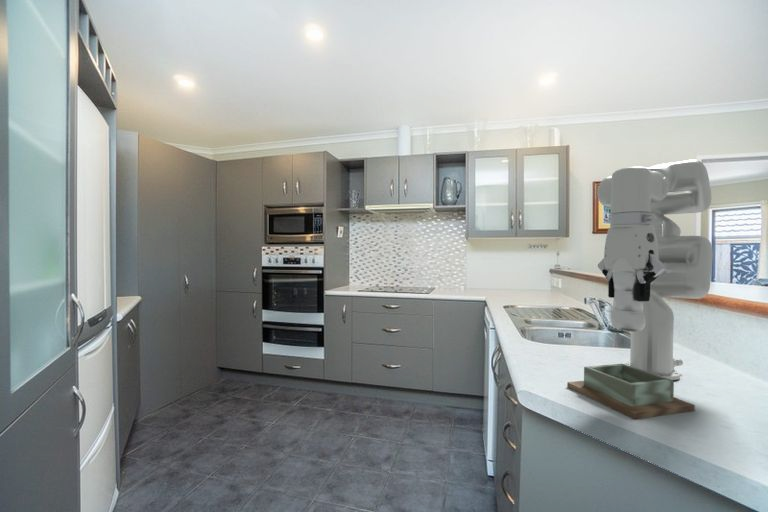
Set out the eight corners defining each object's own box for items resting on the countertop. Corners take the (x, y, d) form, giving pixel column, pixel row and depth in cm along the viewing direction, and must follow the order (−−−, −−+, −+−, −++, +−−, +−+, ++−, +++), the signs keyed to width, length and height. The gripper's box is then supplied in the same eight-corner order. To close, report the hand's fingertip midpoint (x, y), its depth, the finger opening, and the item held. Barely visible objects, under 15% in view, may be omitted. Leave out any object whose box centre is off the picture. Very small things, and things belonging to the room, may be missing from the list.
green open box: (620, 381, 89) (620, 360, 89) (694, 410, 72) (695, 384, 72) (567, 387, 84) (567, 364, 84) (634, 419, 68) (634, 390, 68)
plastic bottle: (651, 335, 74) (654, 245, 74) (617, 333, 76) (619, 244, 76) (636, 329, 81) (638, 245, 81) (604, 327, 82) (606, 245, 82)
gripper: (683, 219, 71) (681, 304, 71) (608, 225, 88) (607, 294, 88) (656, 217, 69) (654, 304, 69) (585, 224, 86) (583, 295, 86)
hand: (628, 298), depth 78 cm, fingers closed on plastic bottle, 6 cm apart
